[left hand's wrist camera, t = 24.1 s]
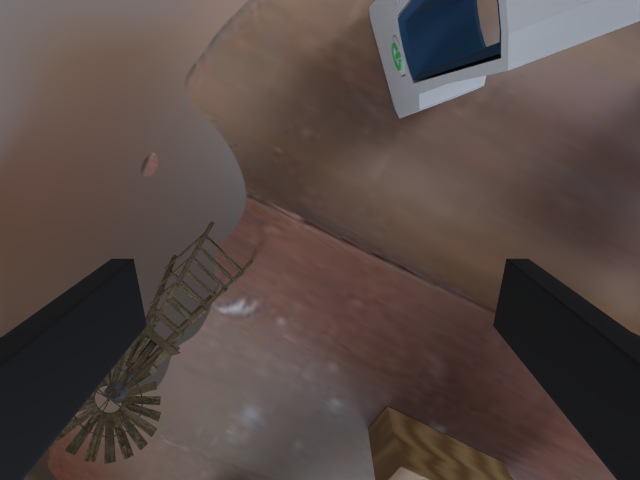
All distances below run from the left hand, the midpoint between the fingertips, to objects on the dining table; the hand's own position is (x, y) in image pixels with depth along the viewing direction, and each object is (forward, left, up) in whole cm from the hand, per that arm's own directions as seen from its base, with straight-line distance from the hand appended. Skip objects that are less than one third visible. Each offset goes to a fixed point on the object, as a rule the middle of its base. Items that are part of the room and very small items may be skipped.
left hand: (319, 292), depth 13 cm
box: (+21, +51, -36) cm, 65 cm away
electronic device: (-16, -1, -36) cm, 39 cm away
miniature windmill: (+21, -1, -36) cm, 41 cm away
